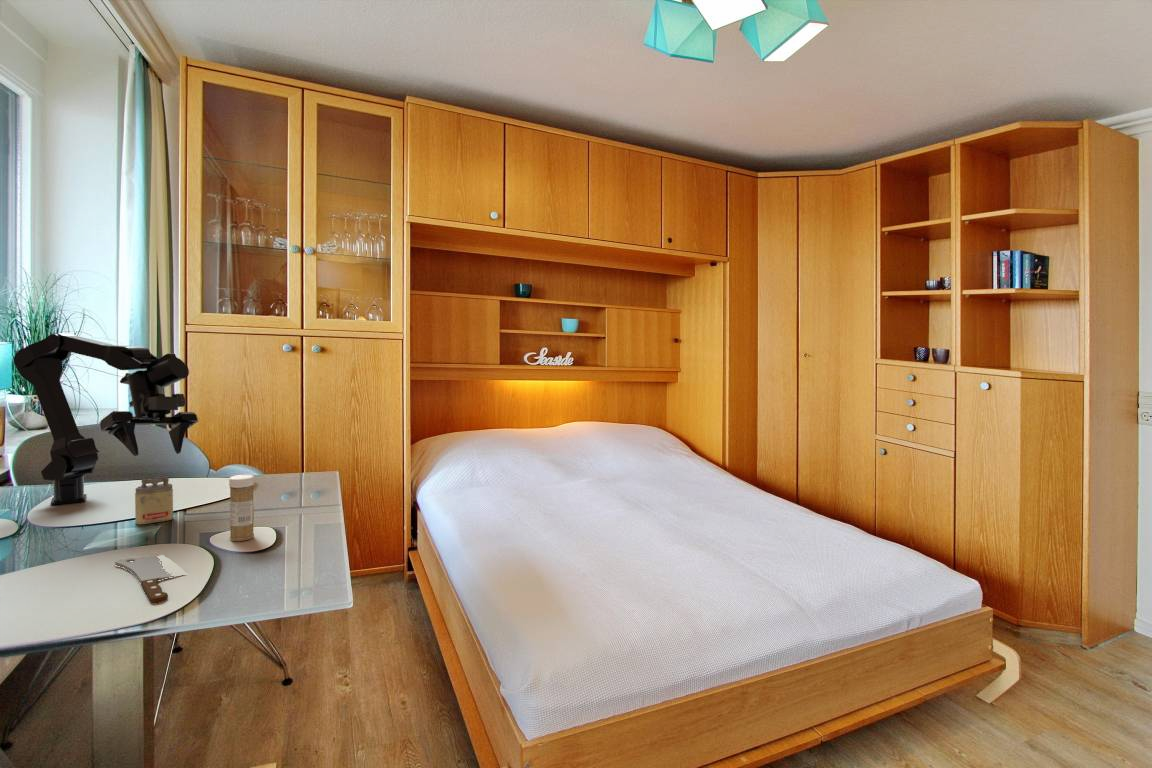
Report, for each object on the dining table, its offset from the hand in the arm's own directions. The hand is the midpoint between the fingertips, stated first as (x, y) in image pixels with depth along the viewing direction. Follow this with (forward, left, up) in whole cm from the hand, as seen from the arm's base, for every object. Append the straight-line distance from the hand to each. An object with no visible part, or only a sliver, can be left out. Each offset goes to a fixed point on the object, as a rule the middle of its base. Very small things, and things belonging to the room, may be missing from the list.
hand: (158, 454), depth 136 cm
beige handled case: (+6, -1, -14) cm, 16 cm away
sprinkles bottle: (+29, +13, -14) cm, 35 cm away
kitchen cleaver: (+43, -2, -15) cm, 46 cm away
